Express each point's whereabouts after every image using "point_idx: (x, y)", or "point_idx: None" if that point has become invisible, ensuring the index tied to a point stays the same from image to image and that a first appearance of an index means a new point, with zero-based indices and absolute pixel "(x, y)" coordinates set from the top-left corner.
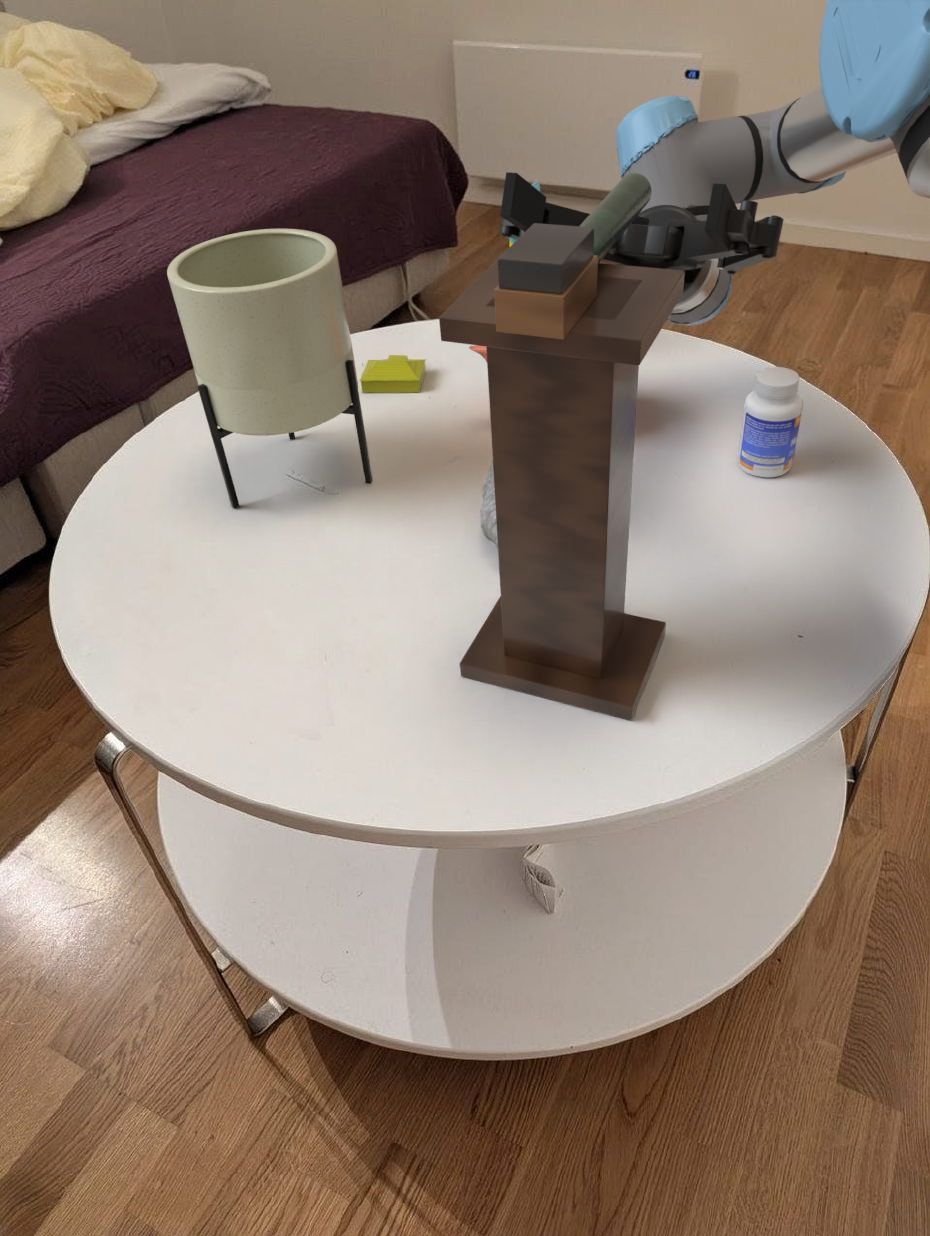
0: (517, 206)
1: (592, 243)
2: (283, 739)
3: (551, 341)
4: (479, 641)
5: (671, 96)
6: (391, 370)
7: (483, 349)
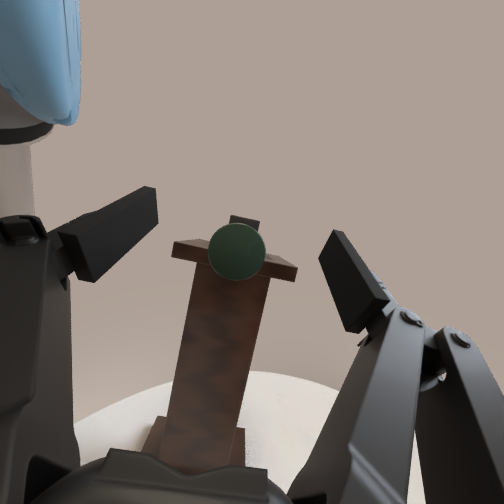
0: (326, 257)
1: (229, 221)
2: (287, 392)
3: None
4: (241, 447)
5: None
6: None
7: None
